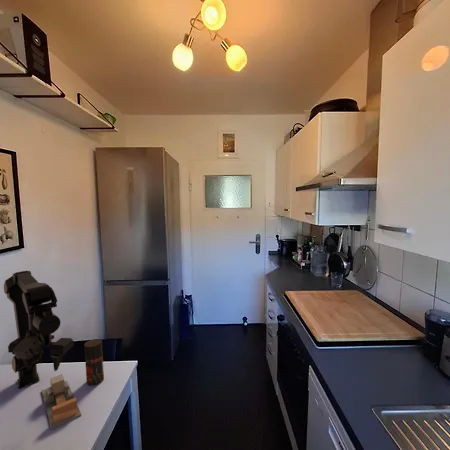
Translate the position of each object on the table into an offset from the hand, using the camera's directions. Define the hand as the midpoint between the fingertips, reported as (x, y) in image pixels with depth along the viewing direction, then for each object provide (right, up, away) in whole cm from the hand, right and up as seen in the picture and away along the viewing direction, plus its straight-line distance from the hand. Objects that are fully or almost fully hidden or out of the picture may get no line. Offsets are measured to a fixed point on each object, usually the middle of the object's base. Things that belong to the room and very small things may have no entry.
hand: (43, 369), depth 89 cm
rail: (+4, -13, +2) cm, 13 cm away
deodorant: (+11, -12, +14) cm, 21 cm away
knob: (+2, -13, +5) cm, 13 cm away
